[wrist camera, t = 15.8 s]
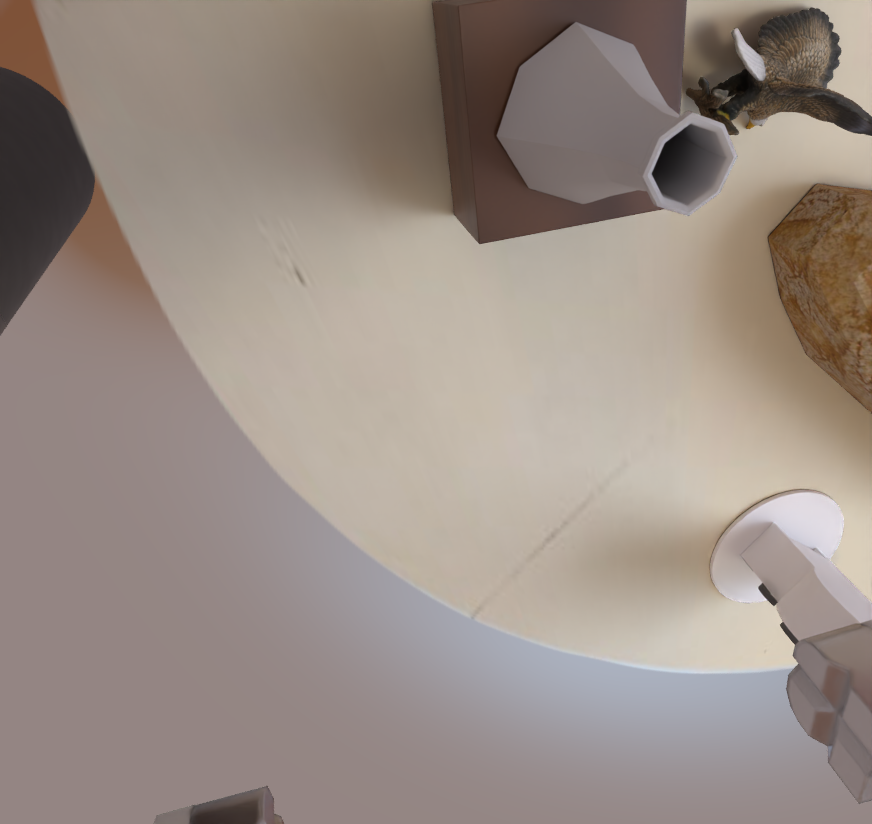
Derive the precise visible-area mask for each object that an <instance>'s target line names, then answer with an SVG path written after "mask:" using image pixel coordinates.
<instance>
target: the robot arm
mask: <svg viewBox="0 0 872 824" xmlns="http://www.w3.org/2000/svg"><path fill="white" fill-rule="evenodd" d="M793 657H794V658H795V659H796V661H797V662H798V663H799V664H798V665H797V666H796V667H795V668H794V669H793V670H792V671H791V673H790V674H789V675H788V681H787V688H786V690H787V694H788V698H789V702H790V706H791V708H792V710H793V712H794V714H795V716H796V718H797V720H798V722H799V723H800V725H801V726H802V727H803V729H804V730H805V732H806V733H807V734H808V736H810V737H812V738H813V739H815V740H817V741H819V742H821V743H823V744H825V745H826V746H828V763H829V764H830V766H831V767H832V768H833V770H834V771H835V772H836V774H837V775H838V776H839V778H840V779H841V780H842V782H843V783H844V784H845V786H846V787H847V788H848V790H849V791H850V792H851V794H852V795H853V796H854V798H855V799H856V800H857V802H858V803H859V804H860V803H864V802H867V801H871V800H872V620H869V621H865V622H862V623H858V624H857V623H855V624H852V625H849V626H845V627H842V628H839V629H835V630H832V631H828V632H825V633H822V634H818V635H815V636H811V637H808V638H805V639H801V640H800V641H799V642H798V643H797V644H795V648H794V652H793ZM154 824H284V822H283V820H282V817H281V816H279V815H276V814H274V798H273V796H272V794H271V792H270V790H269V788H268V786H266V787H262V788H258V789H255V790H251V791H247V792H244V793H239V794H236V795H232V796H228V797H225V798H221V799H217V800H213V801H210V802H206V803H202V804H199V805H192V806H189V807H185V808H181V809H178V810H174V811H171V812H168V813H164V814H160V815H157V816H156V819H155V821H154Z"/></svg>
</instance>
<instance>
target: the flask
mask: <svg viewBox="0 0 872 824" xmlns="http://www.w3.org/2000/svg"><path fill="white" fill-rule="evenodd" d="M497 137H498V139H499V141H500V142H501V144H502V145H503V147H504V149H505V150H506V152H507V154H508V155H509V157H510V158H511V160H512V162H513V163H514V165H515V167H516V168H517V170H518V171H519V173H520V175H521V176H522V178H523V179H524V181H525V183H526V184H527V186H528V188H530V189H533V190H537V191H540V192H543V193H547V194H550V195H553V196H557V197H560V198H563V199H567V200H570V201H573V202H577V203H580V204H586V203H590V202H594V201H597V200H600V199H603V198H606V197H609V196H613V195H618V194H622V193H627V192H632V191H636V190H642V191H647V192H648V194H649V196H650V198H651V200H652V202H653V204H654V205H655V206H658V207H661V208H664V209H667V210H670V211H674V212H677V213H680V214H683V215H686V216H689V215H691V214H692V213H693V212H695V211H696V210H697V209H699V208H700V207H701V206H703V205H704V204H706V203H707V202H708V201H710V200H711V199H712V198H714V197H715V196H716V195H718V194H719V193H720V192H721V189H722V187H723V185H724V183H725V181H726V179H727V177H728V175H729V173H730V171H731V169H732V167H733V164H734V162H735V160H736V158H737V154H736V151H735V149H734V146H733V144H732V142H731V139H730V137H729V134H728V132H727V130H726V127H725V125H724V124H723V123H720V122H718V121H715V120H712V119H710V118H707V117H704V116H702V115H699V114H696V113H693V112H691V111H686V112H684V113H683V114H682V115H679V114H678V113H676V112H675V111H674V110H673V109H671V108H670V107H669V106H668V105H667V103H666V102H665V100H664V98H663V97H662V95H661V93H660V92H659V90H658V88H657V87H656V85H655V84H654V82H653V80H652V79H651V77H650V75H649V73H648V71H647V69H646V67H645V65H644V63H643V61H642V59H641V57H640V55H639V53H638V51H637V50H636V48H635V46H634V45H633V44H630V43H628V42H625V41H623V40H620V39H618V38H615V37H613V36H610V35H608V34H605V33H603V32H600V31H597V30H595V29H592V28H590V27H587V26H585V25H582V24H580V23H577V22H575V23H574V24H573V25H571V26H570V27H569V28H568V29H566V30H565V31H564V32H563V33H561V34H560V35H559V36H558V37H556V38H555V39H554V40H553V41H551V42H550V43H549V44H548V45H546V46H545V47H544V48H543V49H541V50H540V51H539V52H538V53H536V54H535V55H534V56H533V57H531V58H530V59H529V60H528V61H526V62H525V63H524V64H523V65H521V66H520V67H519V70H518V73H517V76H516V79H515V82H514V85H513V88H512V91H511V94H510V97H509V100H508V103H507V106H506V109H505V112H504V115H503V118H502V121H501V124H500V127H499V130H498V133H497Z"/></svg>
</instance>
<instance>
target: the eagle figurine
mask: <svg viewBox="0 0 872 824" xmlns="http://www.w3.org/2000/svg"><path fill="white" fill-rule="evenodd" d="M832 29H833V23H830V22H829V17H828V15H826V14H825V13H824V12H822V11H820V9H815V8H810V9H809V10H802V11H800V13H794V14H789V15H788V16H787V17H786V16H784V15H781V16H775V17H773V19H770V20H769V21H768V22H767V24H765V25H763V26H762V27H761V30H760V31H759V36H760V39H759V41H758V46H759V48H757V49H756V51H754V50H753V49H752V48H751V47H750V46H749V45H748V44H747V43H746V42H745V41H744V39H743V37H742V35H741V33H740V31H739V29H738V28H735V29H734V30H732V32H731V34H732V37H733V39H734V40H735V50H736V53H737V55H738V56H739V57H740V58H741V60H742V62H743V63H744V66H745V68H746V69H744V70H743V71H742V72H741V73H739V74H736V75H734V76H732V77H730V78H729V79H728V80H726V81H724V82H723V83H719V84H718V86H716V87H714V88H712V90H711V93H710V89H709V83H708V81H707V80H706V79H705V78H704V77H700V79H699V82H698V84H699V86H700V87H701V88H702V90H693V89H690V88H688V89H686V95H687V96H689V97H690V98H692V99H693V100H694V101H695V104H696V105H697V106H698V108H699V111H700V114H701V115H702V116H704V117H707V118H710V119H712V120H715V121H718V122H720V123H723V124H724V125H725V127H726V130H727V132H728V134H729V135H738V134H739V131H738V130H737V129H736V127H735V126H734V125H733V124H732V122H731V120H733V119H735V118H736V117H737V116H738V115H739V114H740V113H741V112H744V111H747V113H748V115H749V123H748V125H747V127H746V129H750V128H752V127H754V126H756V125H759V126H763V125H764V123H765V121H766V120H767V119H768V117H769V116H771V115H773V114H776V113H779V112H798V113H804V114H807V115H809V116H811V117H813V118H816V119H818V120H822V121H827V122H831V123H834V124H836V125H837V126H839V127H841V128H843V129H845V130H847V131H850V132H853V133H858V134H866V135H871V136H872V117H871V116H870V115H869V114H868V113H867V112H865V111H864V110H863V109H862V108H861V107H860V106H859V105H858V104H856V103H855V102H853V101H852V100H850V99H848V98H846V97H844V95H841V94H839V93H837V92H834V91H831V90H830V89H826V88H827V83H828V82H829V81H830V80H831V79H832V78H833V70H834V69H836V68H837V67H838V66H839V64H840V63H839V60H838V57H839V56H840V54H841V48H840V47H839V46H838V42H839V36H838V34H836V33H834V32H832ZM733 95H735V96H734V97H732V98H731V99H730V100H729V101H728V102H726V103H725V104H722V103H723V102H724V101H725V100H726V98H727V97H729V96H733Z"/></svg>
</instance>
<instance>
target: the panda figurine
mask: <svg viewBox="0 0 872 824" xmlns="http://www.w3.org/2000/svg"><path fill="white" fill-rule="evenodd" d="M843 529H844V518H843V514H842V511H841V509H840V507H839V506H838V504H837V503H836V502H835V501H834V500H833V499H831V498H830V497H829V496H827V495H825V494H824V493H821V492H818V491H814V490H794V491H788V492H784V493H780V494H777V495H775V496H772V497H770V498H767V499H765V500H763V501H761V502H759V503H758V504H756V505H754V506H753V507H751V508H750V509H748V510H747V511H746V512H744V513H743V514H742V515H741V516H739V517H738V518H737V519H736V520H735V521H734V522H733V523H732V524H731V525H730V526H729V527H728V528H727V530H726V531H725V532H724V533H723V535H722V536H721V538H720V539H719V541H718V543H717V545H716V547H715V549H714V551H713V554H712V557H711V562H710V575H711V579H712V582H713V584H714V585H715V587H716V588H717V589H718V591H719V592H720V593H721V594H722V595H724V596H725V597H727V598H728V599H731V600H733V601H737V602H742V603H756V602H763V601H769V602H770V603H771V604H772V605H773V606H775V605H776V604H777V611H778V613H779V615H780V617H781V619H782V621H783V622H782V623H781V624H780V626H781V628H782V629H783V631H784V632H785V633H786V635H787V636H788V637H789V638H790V640H791V641H792V642H793V643H794V644H797V643H798V642H799V641H800V640H801V639H805V638H808V637H811V636H815V635H818V634H822V633H825V632H828V631H832V630H835V629H839V628H842V627H845V626H849V625H852V624H855V623H857V624H858V623H862V622H865V621H869V620H872V602H871V601H869V600H868V598H867V597H866V596H865V595H864V594H863V593H862V592H861V591H860V590H859V589H858V588H857V587H856V586H855V585H854V584H853V583H852V582H851V581H850V580H849V579H848V578H847V577H846V576H845V575H844V574H843V573H842V572H841V571H840V570H839V569H838V568H837V567H836V566H835V565H834V564H833V563H832V562H831V561H830V559H831V557H832V556H833V554H834V553H835V551H836V549H837V547H838V545H839V543H840V541H841V538H842V534H843ZM777 601H778V602H777Z"/></svg>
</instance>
